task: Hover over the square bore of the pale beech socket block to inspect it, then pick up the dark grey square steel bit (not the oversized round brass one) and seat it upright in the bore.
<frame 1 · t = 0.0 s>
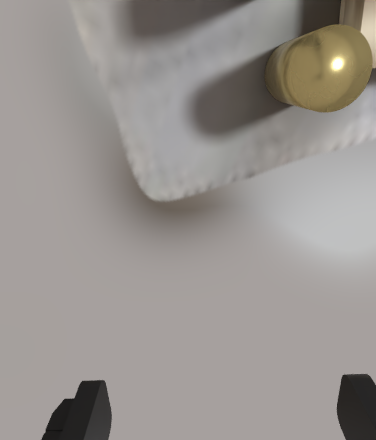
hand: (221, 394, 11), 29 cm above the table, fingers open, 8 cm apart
round brass bit: (294, 72, 34), on the table
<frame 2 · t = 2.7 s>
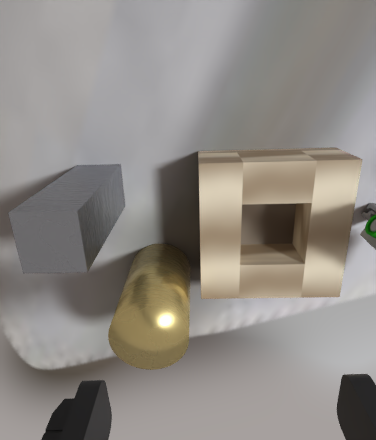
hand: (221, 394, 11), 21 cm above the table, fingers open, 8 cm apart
socket block: (262, 213, 32), on the table
round brass bit: (161, 269, 34), on the table
square steel bit: (101, 186, 31), on the table
mechanical component: (369, 210, 31), on the table
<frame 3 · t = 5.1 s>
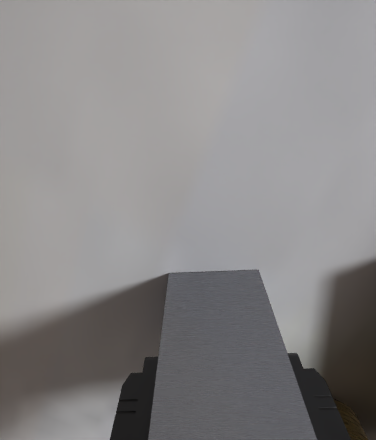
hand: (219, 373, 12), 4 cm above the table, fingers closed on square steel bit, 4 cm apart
round brass bit: (305, 433, 19), on the table
square steel bit: (214, 308, 16), on the table, touching gripper
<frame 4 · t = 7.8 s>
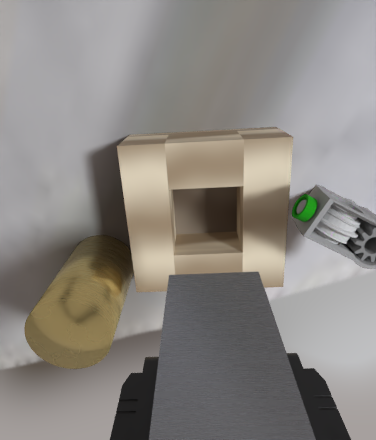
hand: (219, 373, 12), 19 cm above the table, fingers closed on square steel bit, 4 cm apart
socket block: (204, 200, 30), on the table
round brass bit: (103, 263, 32), on the table
square steel bit: (214, 309, 16), point 15 cm above the table, touching gripper
mechanical component: (317, 194, 30), on the table
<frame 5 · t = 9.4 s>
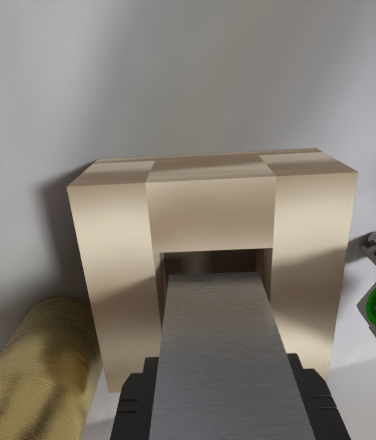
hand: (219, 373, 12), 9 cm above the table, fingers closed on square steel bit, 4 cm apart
socket block: (209, 250, 21), on the table
round brass bit: (68, 331, 23), on the table
square steel bit: (214, 309, 16), point 6 cm above the table, touching gripper
mechanical component: (371, 241, 21), on the table
when the fingers open (7 cm above the table, at t = 10.3 s): square steel bit drops 2 cm, resting on socket block.
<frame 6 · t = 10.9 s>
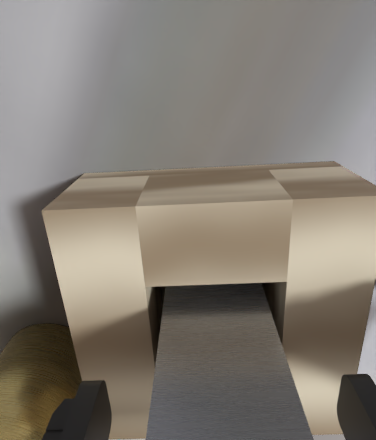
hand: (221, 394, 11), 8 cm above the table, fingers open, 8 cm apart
socket block: (210, 274, 18), on the table
round brass bit: (54, 361, 21), on the table
square steel bit: (211, 286, 17), point 1 cm above the table, touching socket block
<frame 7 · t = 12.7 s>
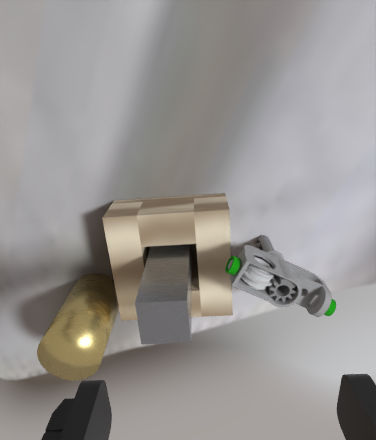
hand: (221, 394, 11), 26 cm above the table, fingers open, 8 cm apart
socket block: (174, 246, 38), on the table
round brass bit: (97, 295, 41), on the table
square steel bit: (173, 251, 37), point 1 cm above the table, touching socket block
mechanical component: (261, 240, 38), on the table
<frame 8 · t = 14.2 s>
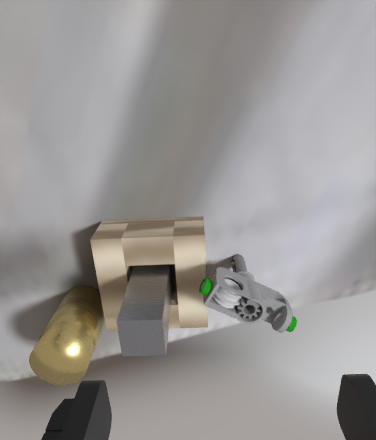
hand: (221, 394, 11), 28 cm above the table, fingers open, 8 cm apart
socket block: (156, 263, 42), on the table
round brass bit: (86, 305, 44), on the table
square steel bit: (155, 268, 41), point 1 cm above the table, touching socket block
mechanical component: (236, 259, 42), on the table
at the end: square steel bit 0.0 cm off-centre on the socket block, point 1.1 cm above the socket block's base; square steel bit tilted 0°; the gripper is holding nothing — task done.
